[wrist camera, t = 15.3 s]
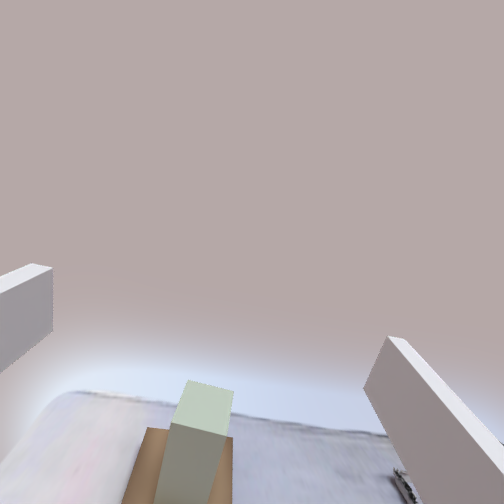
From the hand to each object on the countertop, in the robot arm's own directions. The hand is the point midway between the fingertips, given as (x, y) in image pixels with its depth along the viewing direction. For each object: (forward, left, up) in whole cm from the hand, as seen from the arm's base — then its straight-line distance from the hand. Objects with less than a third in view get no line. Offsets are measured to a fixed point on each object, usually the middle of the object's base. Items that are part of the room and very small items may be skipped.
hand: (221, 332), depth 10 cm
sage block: (-1, -10, -27) cm, 29 cm away
